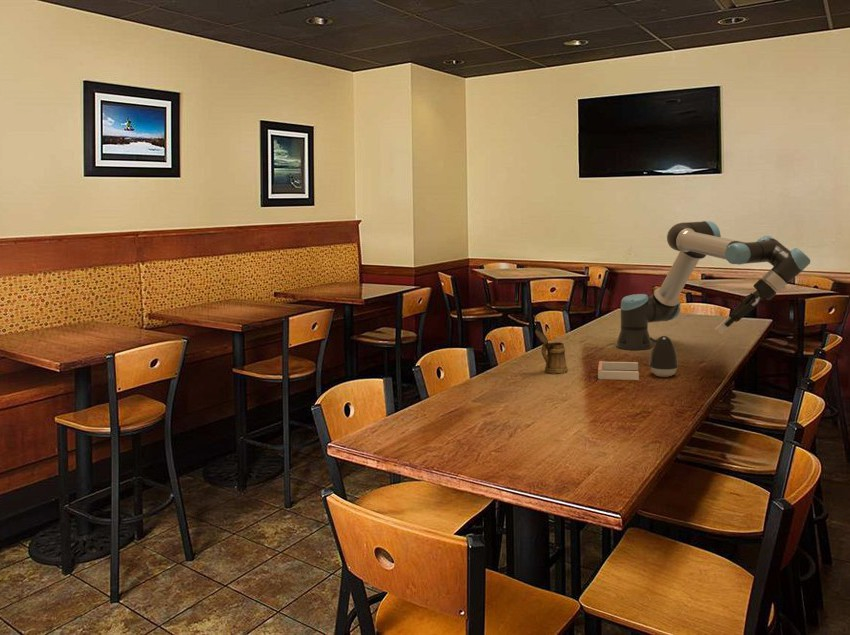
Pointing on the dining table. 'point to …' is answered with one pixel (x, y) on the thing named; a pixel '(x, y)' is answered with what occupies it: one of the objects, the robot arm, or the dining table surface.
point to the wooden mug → (553, 355)
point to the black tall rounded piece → (663, 357)
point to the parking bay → (618, 374)
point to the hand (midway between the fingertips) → (718, 331)
